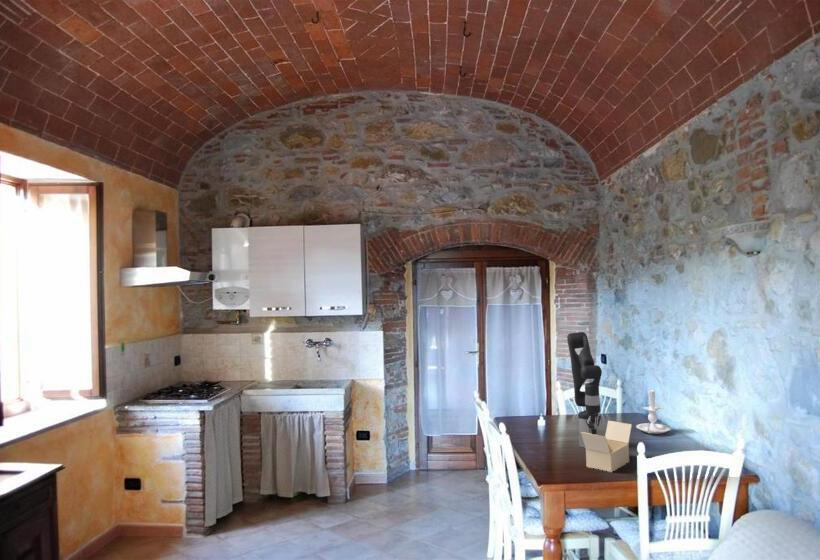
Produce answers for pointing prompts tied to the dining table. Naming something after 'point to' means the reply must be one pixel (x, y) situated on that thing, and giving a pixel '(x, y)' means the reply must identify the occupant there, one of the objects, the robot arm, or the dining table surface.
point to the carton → (608, 457)
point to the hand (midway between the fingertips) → (594, 435)
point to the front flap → (595, 442)
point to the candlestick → (652, 418)
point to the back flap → (618, 431)
